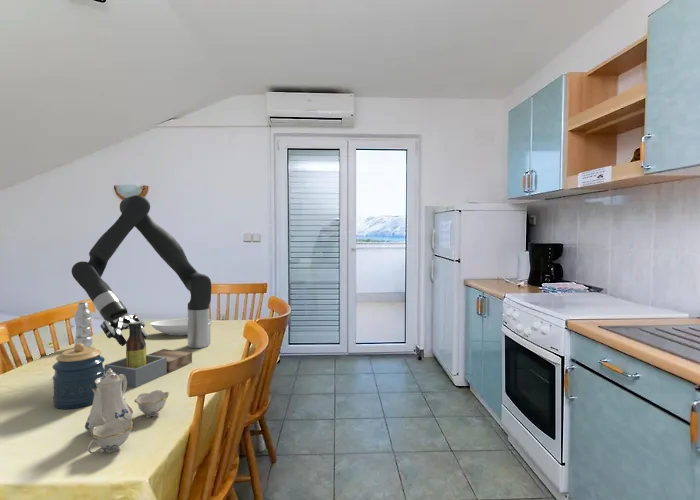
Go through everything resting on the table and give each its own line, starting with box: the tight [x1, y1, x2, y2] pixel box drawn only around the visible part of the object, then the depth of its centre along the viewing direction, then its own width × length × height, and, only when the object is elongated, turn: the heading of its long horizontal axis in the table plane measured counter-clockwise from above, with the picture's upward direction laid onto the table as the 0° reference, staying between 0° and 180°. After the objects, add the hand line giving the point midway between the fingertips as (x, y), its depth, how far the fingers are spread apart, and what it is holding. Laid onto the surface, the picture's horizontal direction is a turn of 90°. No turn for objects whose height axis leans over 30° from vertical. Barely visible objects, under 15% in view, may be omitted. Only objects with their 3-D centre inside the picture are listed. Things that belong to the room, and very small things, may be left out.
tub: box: [103, 354, 168, 388], centre depth 135 cm, size 14×14×6 cm
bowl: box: [149, 318, 214, 336], centre depth 196 cm, size 30×15×6 cm, turn 105°
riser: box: [147, 348, 193, 373], centre depth 149 cm, size 12×14×4 cm
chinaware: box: [84, 368, 170, 454], centre depth 100 cm, size 28×17×17 cm, turn 4°
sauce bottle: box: [125, 321, 147, 369], centre depth 135 cm, size 6×6×20 cm
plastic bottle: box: [73, 301, 93, 347], centre depth 169 cm, size 6×7×20 cm
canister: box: [52, 343, 105, 410], centre depth 116 cm, size 13×13×18 cm
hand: (135, 341), depth 135 cm, fingers open, 8 cm apart
